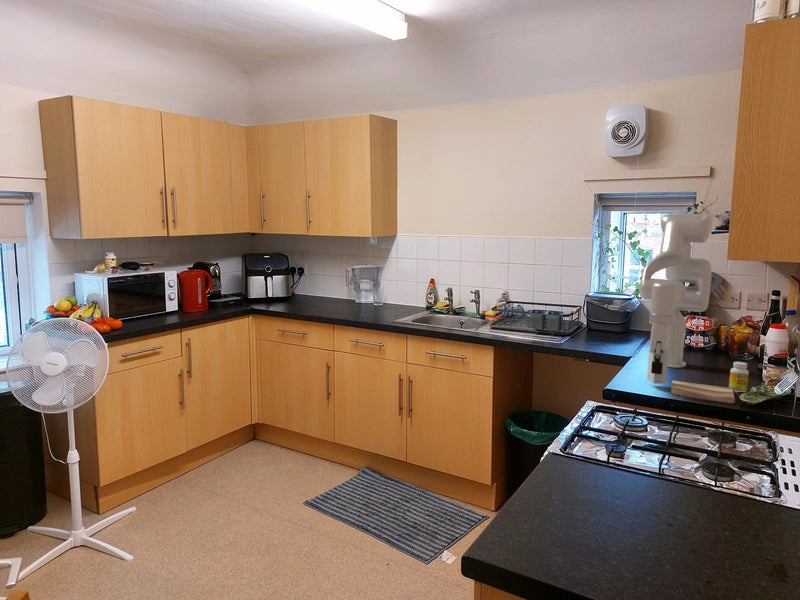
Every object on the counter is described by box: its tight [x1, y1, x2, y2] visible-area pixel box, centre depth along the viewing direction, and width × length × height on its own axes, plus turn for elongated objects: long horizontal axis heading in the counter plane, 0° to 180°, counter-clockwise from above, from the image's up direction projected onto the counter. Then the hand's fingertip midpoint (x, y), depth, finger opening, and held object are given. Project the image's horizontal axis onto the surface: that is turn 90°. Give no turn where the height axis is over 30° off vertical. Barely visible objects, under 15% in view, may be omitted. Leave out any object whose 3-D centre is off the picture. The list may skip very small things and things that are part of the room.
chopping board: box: [670, 380, 736, 404], centre depth 193 cm, size 14×18×2 cm
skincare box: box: [646, 348, 669, 385], centre depth 198 cm, size 6×4×12 cm
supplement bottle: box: [728, 361, 750, 393], centre depth 197 cm, size 5×5×10 cm
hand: (656, 370), depth 198 cm, fingers closed on skincare box, 7 cm apart
